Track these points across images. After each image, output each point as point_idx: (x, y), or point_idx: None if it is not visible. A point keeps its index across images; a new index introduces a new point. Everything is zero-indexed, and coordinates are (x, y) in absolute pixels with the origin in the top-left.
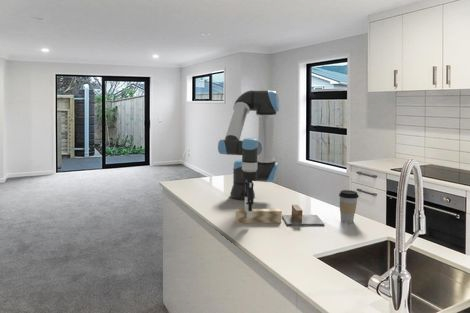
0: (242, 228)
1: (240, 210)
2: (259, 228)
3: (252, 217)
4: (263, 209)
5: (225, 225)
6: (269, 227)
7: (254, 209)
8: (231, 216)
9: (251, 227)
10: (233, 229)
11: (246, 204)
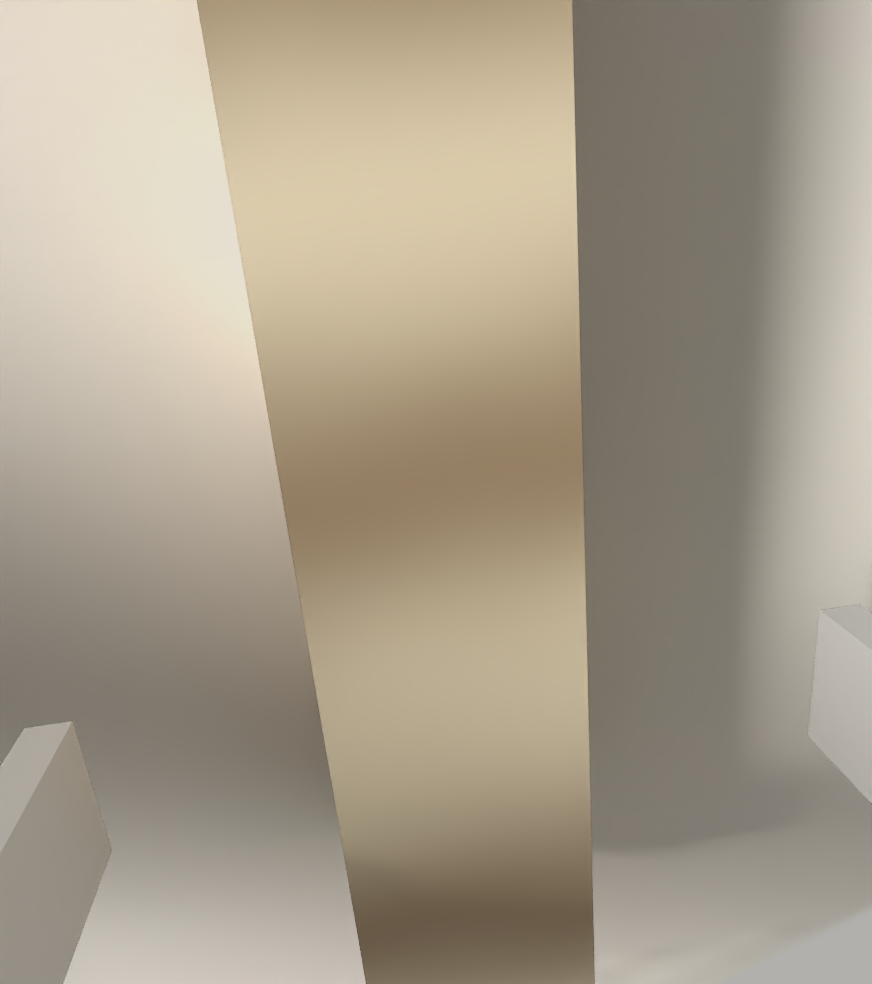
0: None
1: (528, 965)
2: (867, 373)
3: (861, 607)
4: (342, 300)
5: (666, 928)
6: (832, 137)
7: (386, 627)
8: (143, 931)
9: (794, 530)
10: (859, 798)
11: (37, 951)
